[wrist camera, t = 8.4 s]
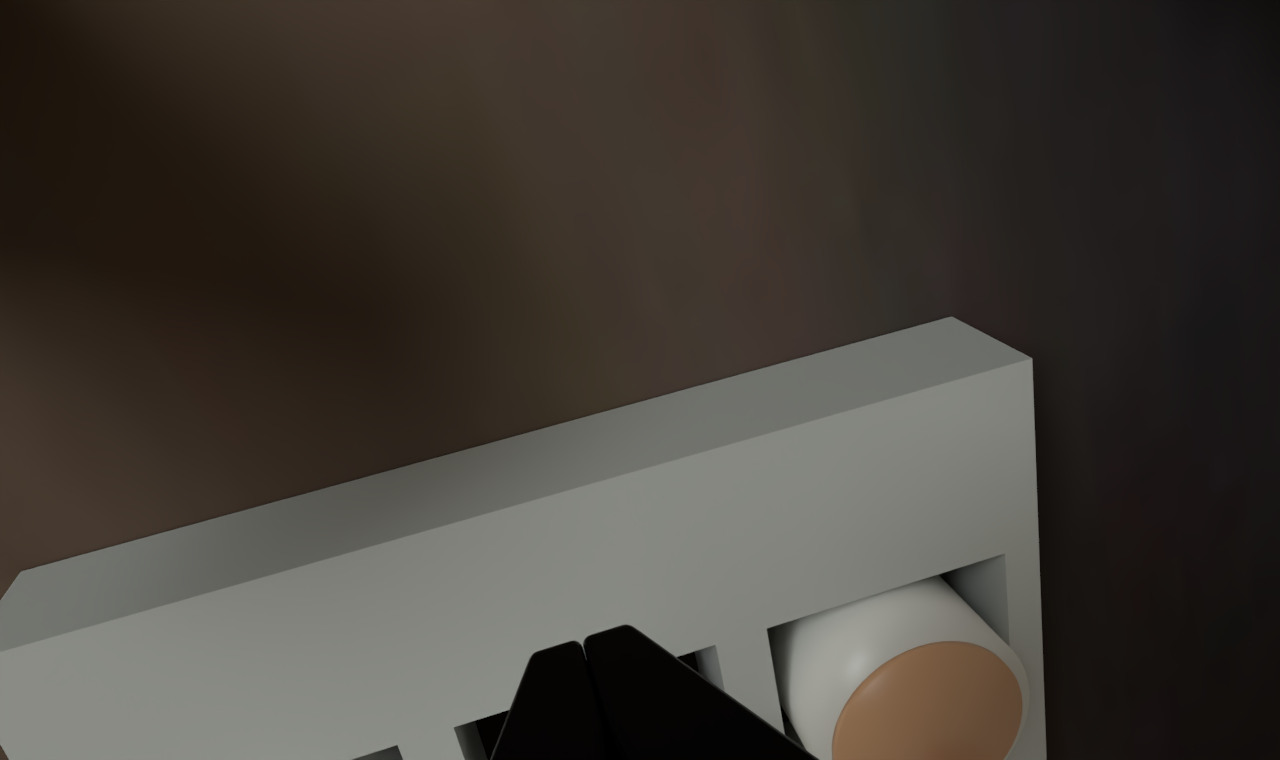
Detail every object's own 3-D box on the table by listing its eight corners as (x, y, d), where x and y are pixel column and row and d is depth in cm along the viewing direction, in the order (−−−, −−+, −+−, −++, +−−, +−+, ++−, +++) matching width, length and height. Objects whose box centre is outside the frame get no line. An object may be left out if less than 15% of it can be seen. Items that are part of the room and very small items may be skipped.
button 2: (930, 511, 23) (1031, 604, 19) (943, 671, 24) (1038, 783, 21) (741, 569, 22) (808, 677, 18) (769, 728, 24) (835, 856, 20)
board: (951, 316, 21) (1032, 358, 19) (984, 780, 27) (1050, 866, 24) (21, 571, 19) (-46, 664, 16) (264, 1033, 24) (245, 1164, 21)
